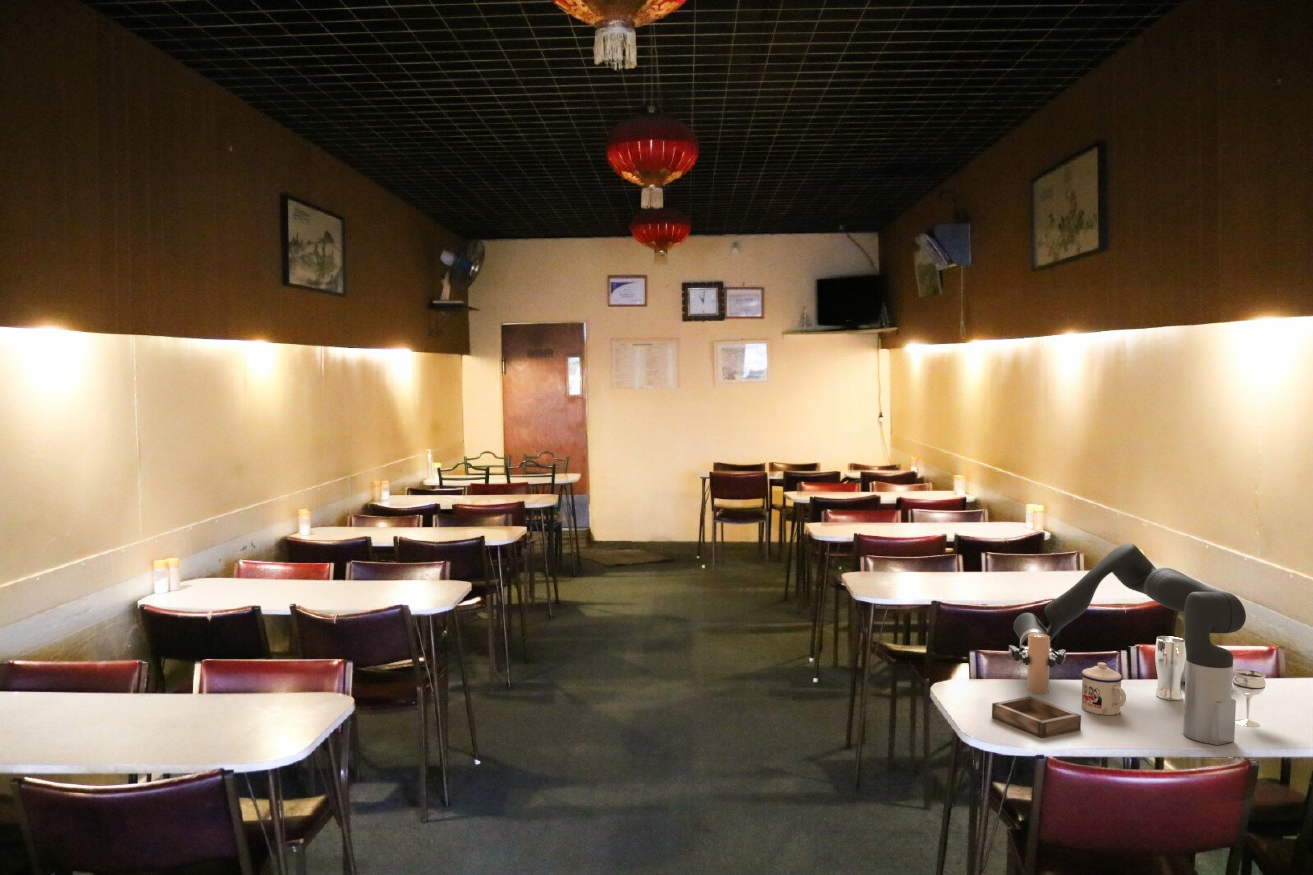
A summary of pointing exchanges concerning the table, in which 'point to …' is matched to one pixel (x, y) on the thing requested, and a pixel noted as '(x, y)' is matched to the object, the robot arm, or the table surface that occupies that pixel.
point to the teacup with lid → (1102, 690)
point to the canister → (1038, 663)
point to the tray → (1036, 717)
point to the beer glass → (1170, 666)
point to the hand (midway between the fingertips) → (1039, 662)
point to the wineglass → (1248, 689)
